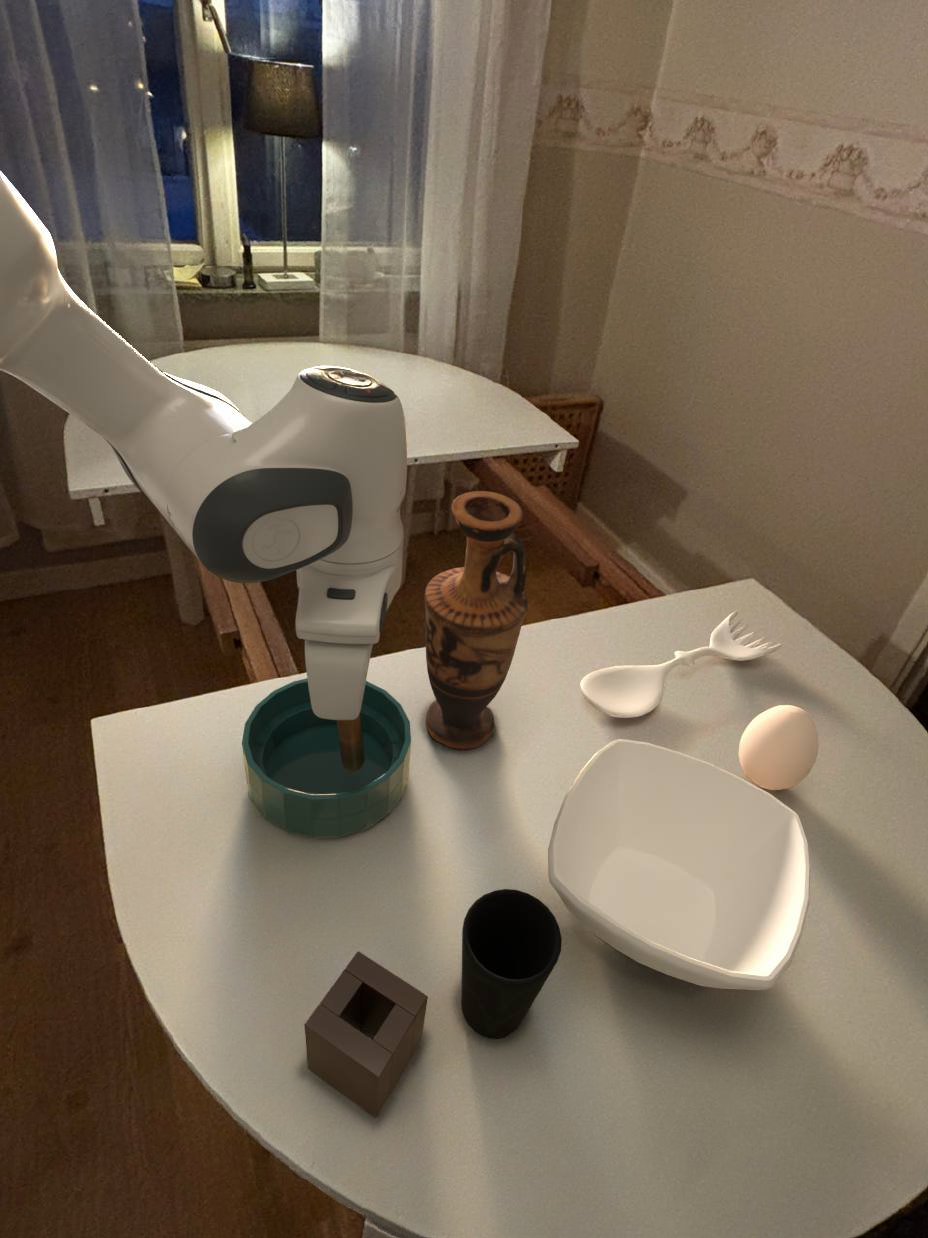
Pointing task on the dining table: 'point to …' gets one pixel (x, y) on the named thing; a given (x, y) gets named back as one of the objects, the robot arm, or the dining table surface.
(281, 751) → the mixing bowl
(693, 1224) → the dining table surface
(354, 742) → the stick
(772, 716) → the egg
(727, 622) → the spoon
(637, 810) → the bowl
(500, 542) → the vase
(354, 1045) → the holder
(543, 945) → the cup
